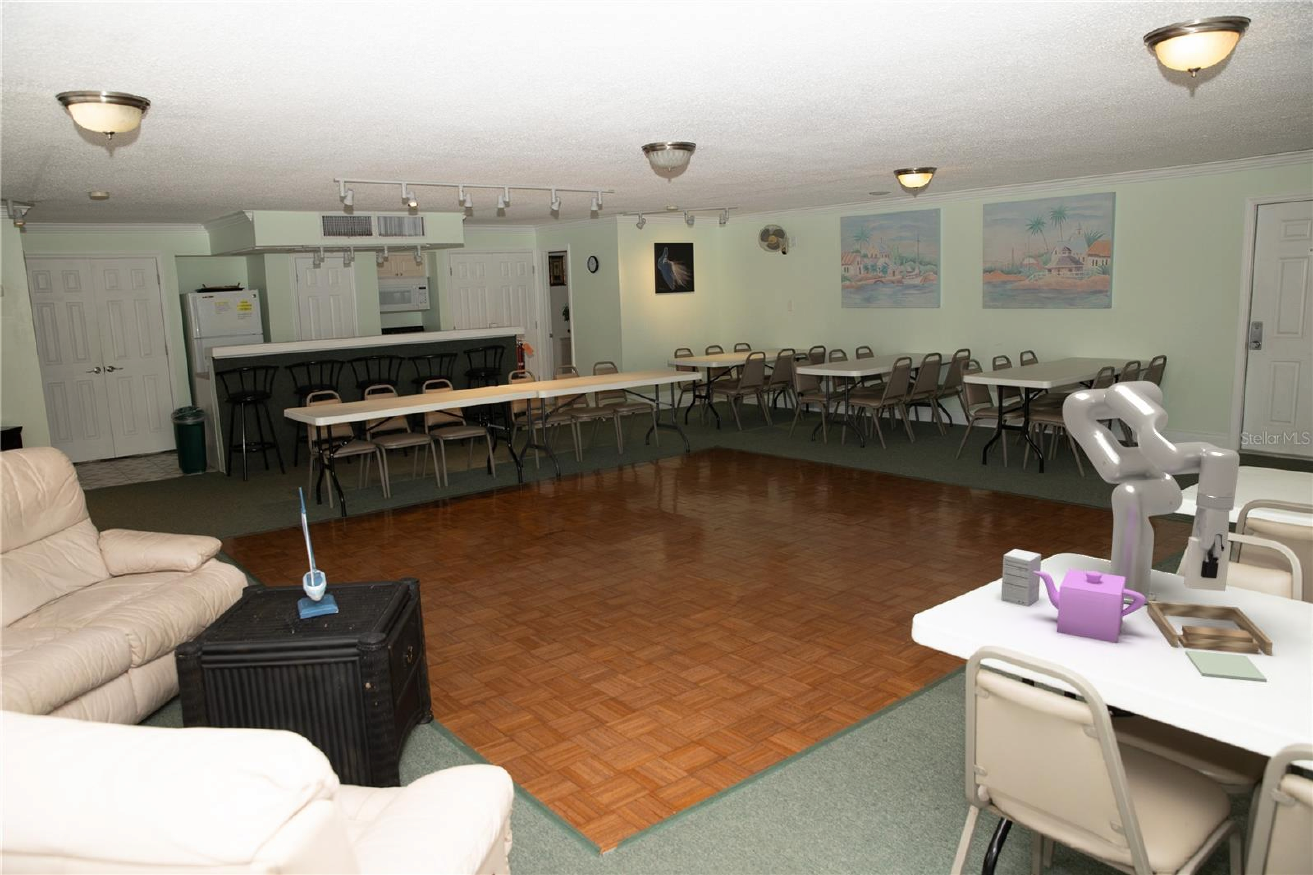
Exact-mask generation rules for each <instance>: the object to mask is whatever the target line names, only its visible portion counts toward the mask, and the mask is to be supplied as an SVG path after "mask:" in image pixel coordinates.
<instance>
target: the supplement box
mask: <svg viewBox="0 0 1313 875" xmlns="http://www.w3.org/2000/svg"><path fill="white" fill-rule="evenodd" d="M1002 558H1003V561H1002V575H1001V576H1002V579H1001V580H1002V582H1001V597H1000V599H1001V600H1002V601H1005V602H1009V603H1013V604H1017V605H1021V606H1025V607H1029V606H1031V604H1033V603H1035V602H1036V601H1038V600H1039V598H1040V584H1041V581H1040V580H1041V577H1040V576H1039V575H1037V574H1036V573H1034V572H1033V571H1040V572H1041V564H1042V554H1041V553H1038V552H1032V551H1027V550H1022V549H1017V548H1014V549H1012V550H1010V551H1008V552H1007V553H1005V554H1003V557H1002Z"/></svg>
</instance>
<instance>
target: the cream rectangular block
mask: <svg viewBox="0 0 1313 875" xmlns="http://www.w3.org/2000/svg"><path fill="white" fill-rule="evenodd" d="M1221 544H1222V543H1221ZM1221 547H1222V546H1221ZM1231 547H1232V542H1231V541H1230V540H1229V539H1228V540H1227V547H1226V550H1225V551H1223V552H1222V551H1221V554H1222V556H1221V558H1219V563H1218V571H1217V578H1203V577H1201V570H1202V562H1203V561H1204V559H1205V550H1202V549H1201V548H1200V547H1199V540H1198V539H1197V538H1196V537H1192V536H1188V542H1187V552H1186V554H1187V555H1186V562H1185V569H1184V571H1185V572H1184V578H1183V585H1184V586H1185V587H1186V588H1187V589H1193V590H1205V591H1206V590H1208V591H1219V592H1226V587H1227V579H1228V572H1229V564H1230V555H1231ZM1210 549H1214V547H1211V548H1210ZM1210 553H1213V552H1209V555H1210Z"/></svg>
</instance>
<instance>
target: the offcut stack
mask: <svg viewBox="0 0 1313 875" xmlns="http://www.w3.org/2000/svg"><path fill="white" fill-rule="evenodd" d="M1181 631H1182V634H1178V635H1179V637H1178V643H1180V644H1181V646H1182V647H1183V648H1185V649H1187V648H1188V649H1196V650H1197V649H1198V650H1207V651H1208V650H1209V651H1219V652H1232V653H1241V654H1242V653H1244V654H1245V653H1246V654H1252V655H1253V654H1255V655H1259V651H1260V649H1259V648H1258V647H1259V644H1258V642H1257V641H1256V640H1255V639H1254V638H1253V637H1252V636H1251V635H1250V634H1249V633H1248V632H1247V631H1245V630H1241V629H1230V628H1219V627H1207V626H1194V625H1185V624H1183V625H1181Z"/></svg>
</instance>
